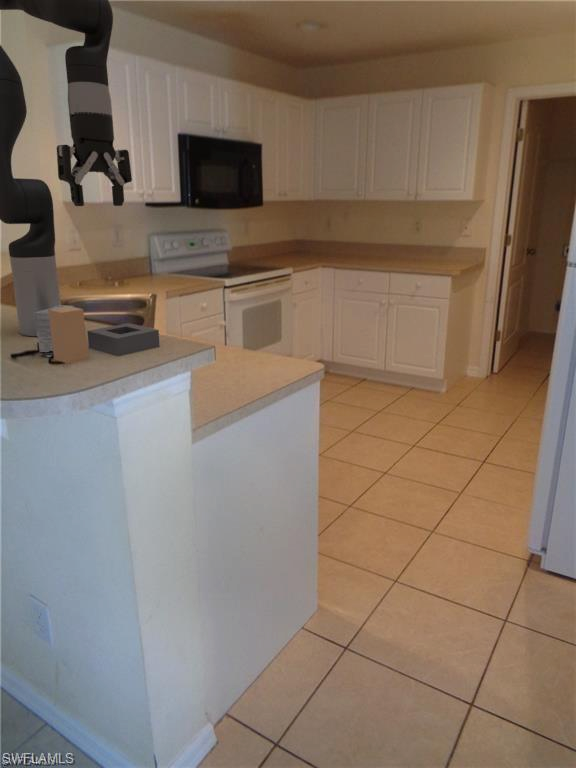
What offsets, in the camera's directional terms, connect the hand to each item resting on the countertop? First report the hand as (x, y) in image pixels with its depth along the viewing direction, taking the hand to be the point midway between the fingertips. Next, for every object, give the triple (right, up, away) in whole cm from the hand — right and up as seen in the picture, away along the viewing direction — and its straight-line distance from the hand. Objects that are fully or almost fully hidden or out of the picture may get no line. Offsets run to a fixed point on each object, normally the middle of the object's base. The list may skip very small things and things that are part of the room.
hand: (99, 206), depth 108 cm
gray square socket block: (+3, -27, +8) cm, 28 cm away
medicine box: (-10, -28, +7) cm, 30 cm away
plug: (-5, -30, -1) cm, 30 cm away
